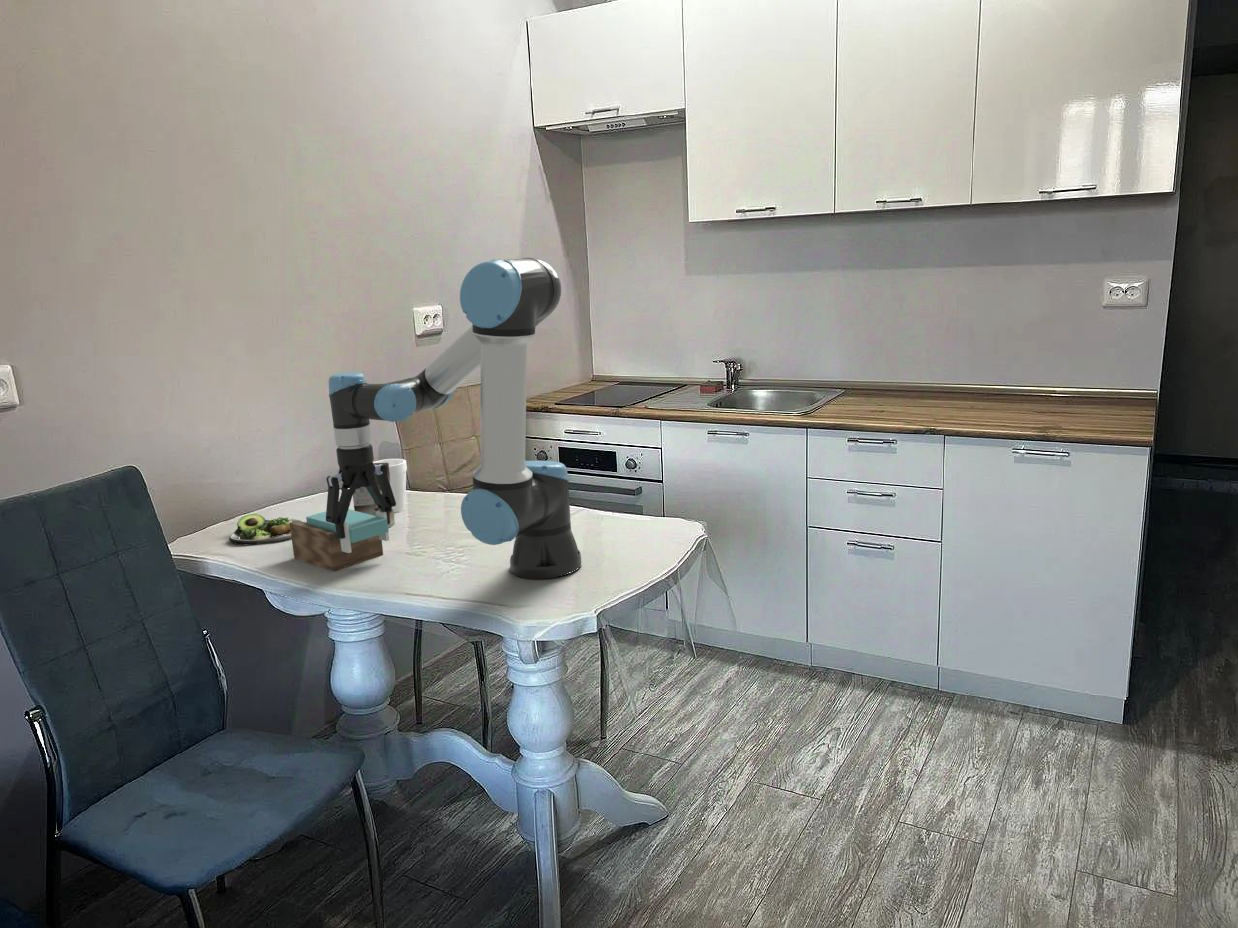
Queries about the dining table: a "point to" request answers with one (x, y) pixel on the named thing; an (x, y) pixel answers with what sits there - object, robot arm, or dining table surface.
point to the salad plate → (261, 529)
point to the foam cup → (397, 481)
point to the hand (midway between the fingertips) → (365, 545)
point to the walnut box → (330, 547)
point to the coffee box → (370, 499)
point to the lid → (353, 524)
